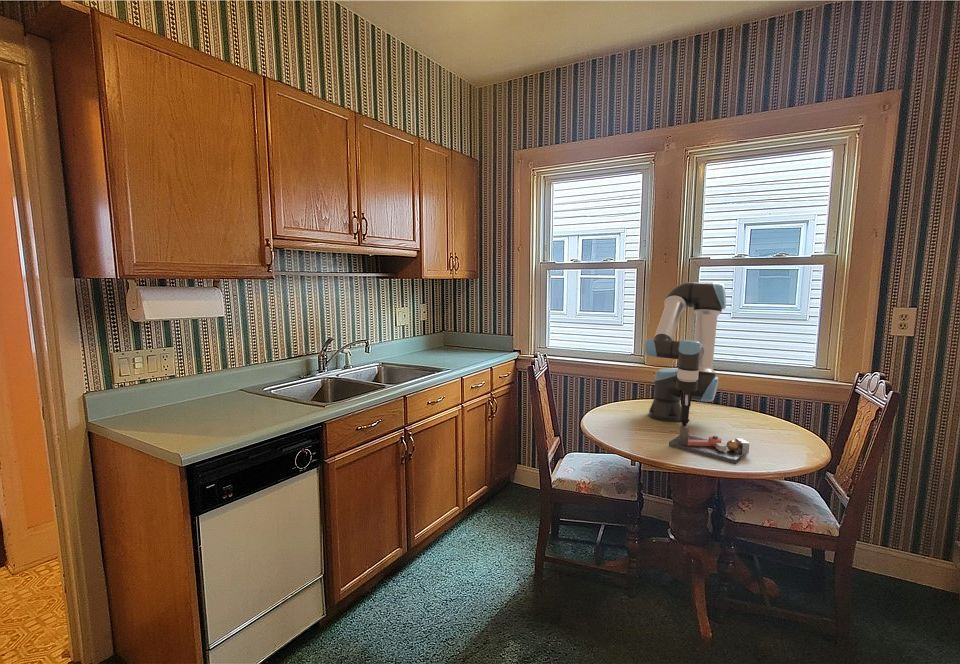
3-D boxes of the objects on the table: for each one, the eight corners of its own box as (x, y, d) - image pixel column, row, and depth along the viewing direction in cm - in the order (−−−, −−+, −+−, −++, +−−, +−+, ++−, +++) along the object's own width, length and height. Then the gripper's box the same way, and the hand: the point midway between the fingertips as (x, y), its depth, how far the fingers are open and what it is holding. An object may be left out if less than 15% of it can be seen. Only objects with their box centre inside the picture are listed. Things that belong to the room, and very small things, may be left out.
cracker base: (668, 446, 179) (669, 432, 178) (682, 437, 188) (683, 424, 188) (740, 465, 161) (741, 450, 160) (751, 454, 171) (752, 440, 170)
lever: (685, 450, 169) (687, 432, 168) (676, 442, 178) (677, 424, 177) (728, 451, 168) (730, 433, 168) (717, 442, 177) (718, 425, 176)
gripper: (676, 375, 183) (672, 431, 187) (677, 382, 171) (673, 441, 175) (696, 377, 181) (692, 433, 184) (698, 384, 169) (694, 444, 172)
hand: (683, 437), depth 179 cm, fingers closed
